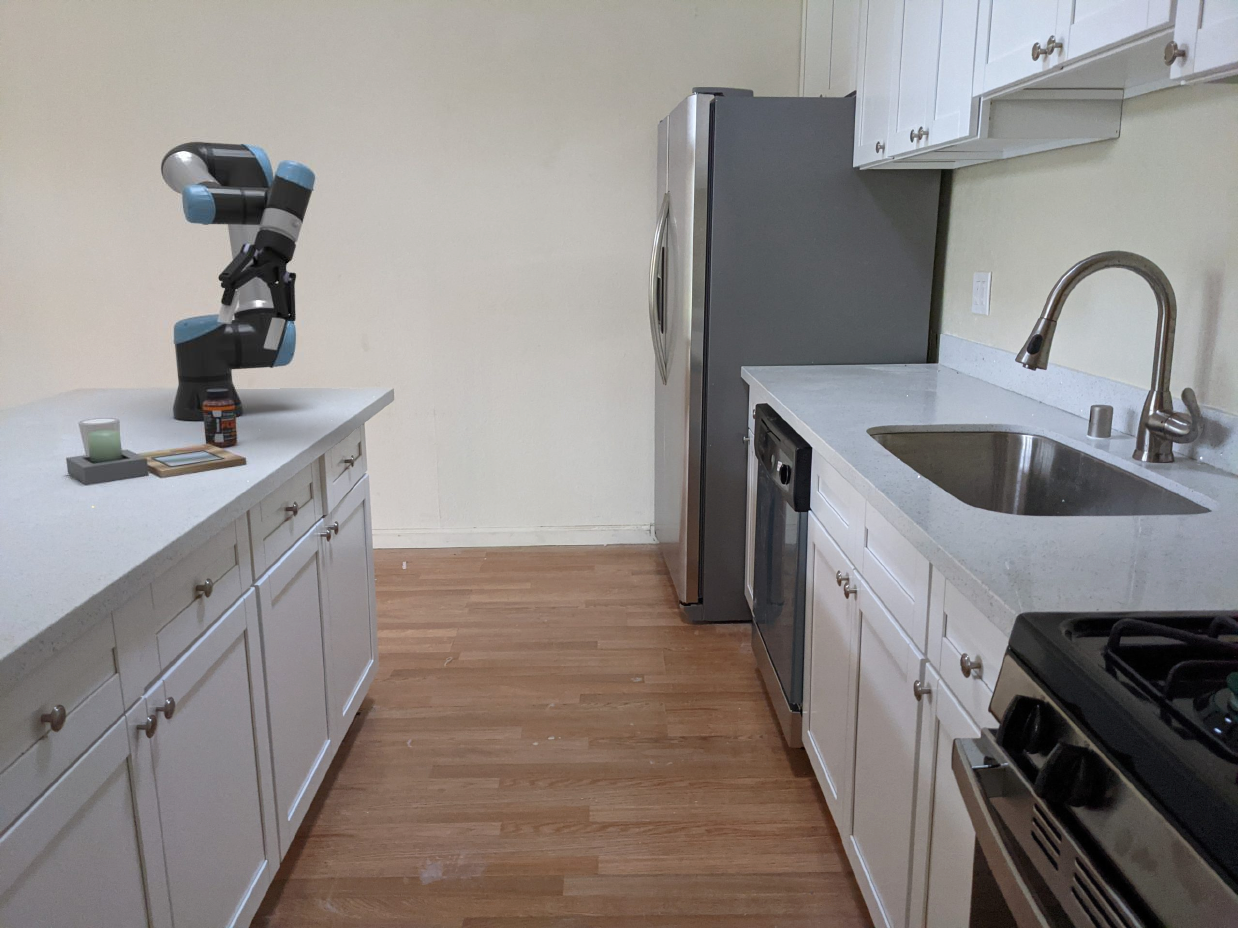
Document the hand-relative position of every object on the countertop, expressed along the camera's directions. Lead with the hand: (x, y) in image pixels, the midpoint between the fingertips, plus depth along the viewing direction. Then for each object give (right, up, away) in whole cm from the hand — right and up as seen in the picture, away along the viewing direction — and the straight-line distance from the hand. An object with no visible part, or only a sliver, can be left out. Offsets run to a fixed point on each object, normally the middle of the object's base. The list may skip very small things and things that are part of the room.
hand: (247, 336), depth 180 cm
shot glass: (-26, -24, -4) cm, 36 cm away
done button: (-18, -24, -18) cm, 35 cm away
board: (-8, -25, -8) cm, 27 cm away
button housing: (-18, -27, -17) cm, 36 cm away
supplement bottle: (-8, -21, +7) cm, 24 cm away
